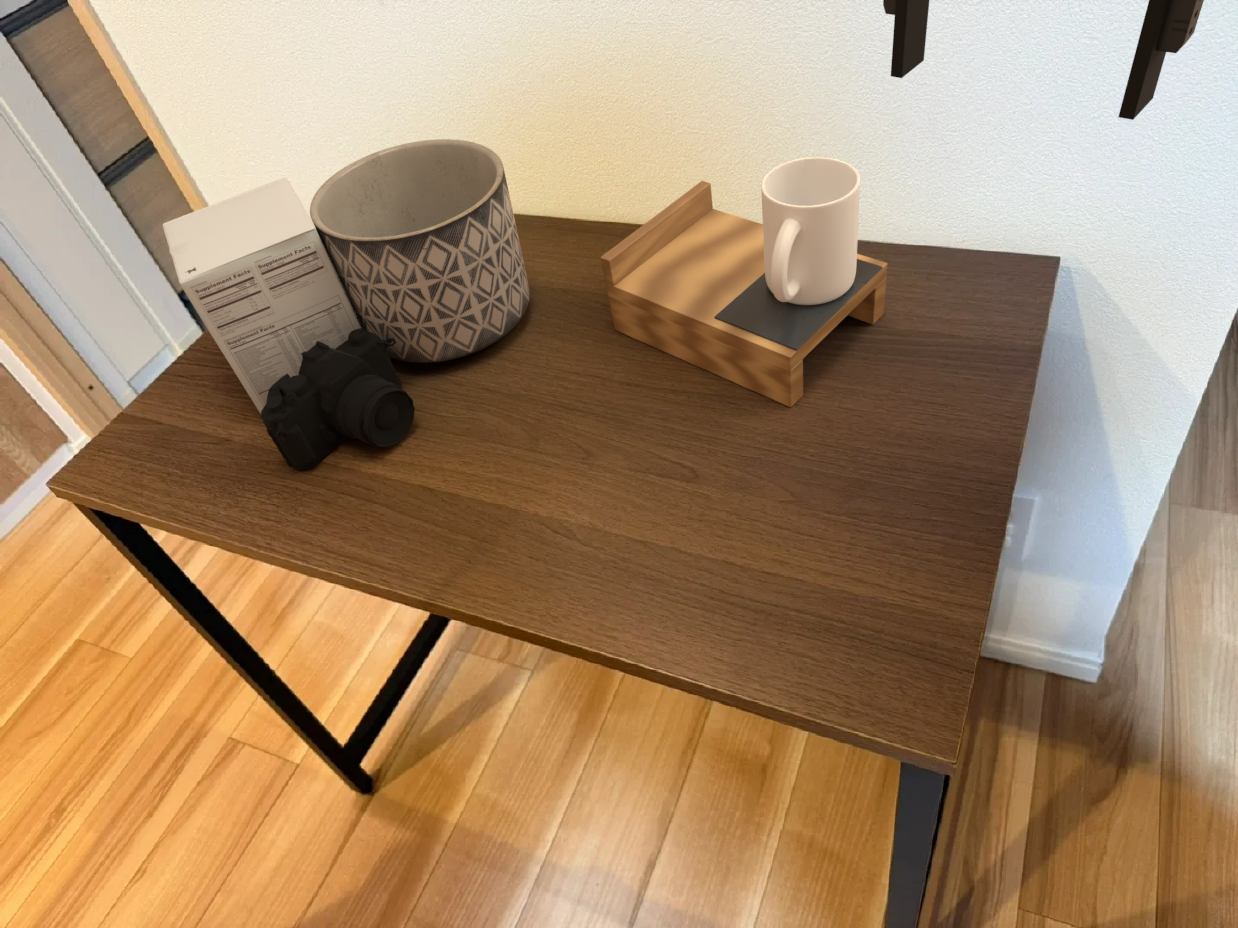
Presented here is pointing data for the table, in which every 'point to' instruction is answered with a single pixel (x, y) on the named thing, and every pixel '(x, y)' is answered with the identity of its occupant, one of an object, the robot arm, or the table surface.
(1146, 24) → the robot arm
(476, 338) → the planter
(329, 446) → the film camera
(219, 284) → the supplement box
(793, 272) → the mug
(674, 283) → the shelf
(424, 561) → the table surface
